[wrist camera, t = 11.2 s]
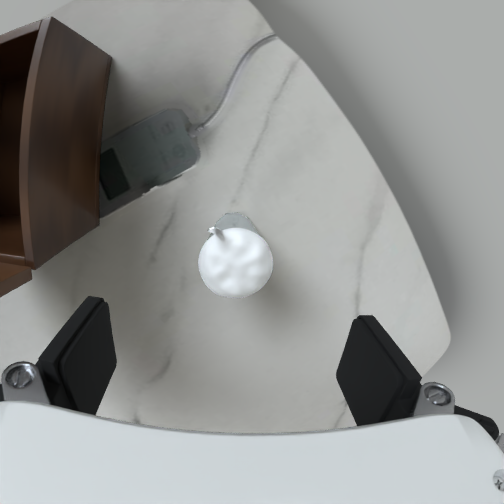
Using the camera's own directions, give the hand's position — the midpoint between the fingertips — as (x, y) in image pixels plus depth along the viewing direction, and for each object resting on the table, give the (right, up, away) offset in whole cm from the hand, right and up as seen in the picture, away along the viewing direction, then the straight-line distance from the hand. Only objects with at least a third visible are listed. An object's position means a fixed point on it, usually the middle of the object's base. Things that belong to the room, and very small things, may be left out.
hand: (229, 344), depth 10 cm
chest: (-19, +14, +11) cm, 26 cm away
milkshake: (-1, +6, +15) cm, 16 cm away
